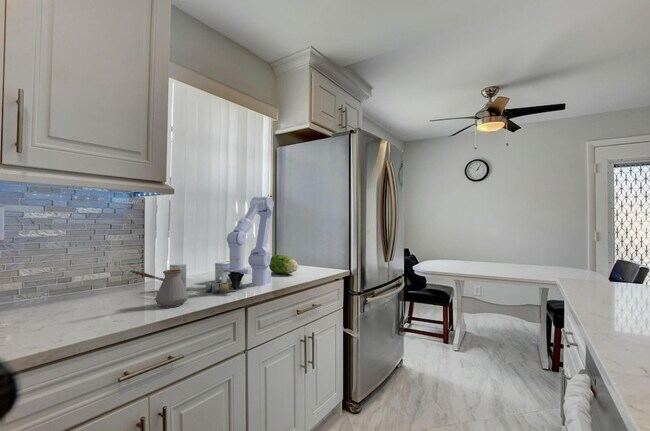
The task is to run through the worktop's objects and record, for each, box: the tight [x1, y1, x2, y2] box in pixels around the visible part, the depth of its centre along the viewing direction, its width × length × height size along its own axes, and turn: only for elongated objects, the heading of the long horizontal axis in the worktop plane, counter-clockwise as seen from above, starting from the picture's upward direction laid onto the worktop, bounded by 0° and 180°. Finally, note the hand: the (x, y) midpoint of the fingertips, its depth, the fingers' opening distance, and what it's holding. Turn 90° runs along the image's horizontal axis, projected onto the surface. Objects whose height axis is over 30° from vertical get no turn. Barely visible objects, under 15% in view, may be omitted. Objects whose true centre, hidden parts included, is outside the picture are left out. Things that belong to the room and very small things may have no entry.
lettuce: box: [268, 254, 299, 275], centre depth 188 cm, size 12×21×11 cm, turn 50°
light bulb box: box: [214, 260, 237, 283], centre depth 162 cm, size 11×7×11 cm, turn 145°
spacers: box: [205, 277, 243, 295], centre depth 143 cm, size 15×16×4 cm
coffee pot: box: [127, 269, 190, 308], centre depth 115 cm, size 21×12×15 cm, turn 148°
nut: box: [220, 282, 231, 291], centre depth 142 cm, size 5×5×3 cm
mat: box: [193, 287, 247, 296], centre depth 143 cm, size 15×18×1 cm
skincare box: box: [169, 263, 187, 290], centre depth 144 cm, size 6×4×12 cm
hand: (236, 289), depth 139 cm, fingers closed
